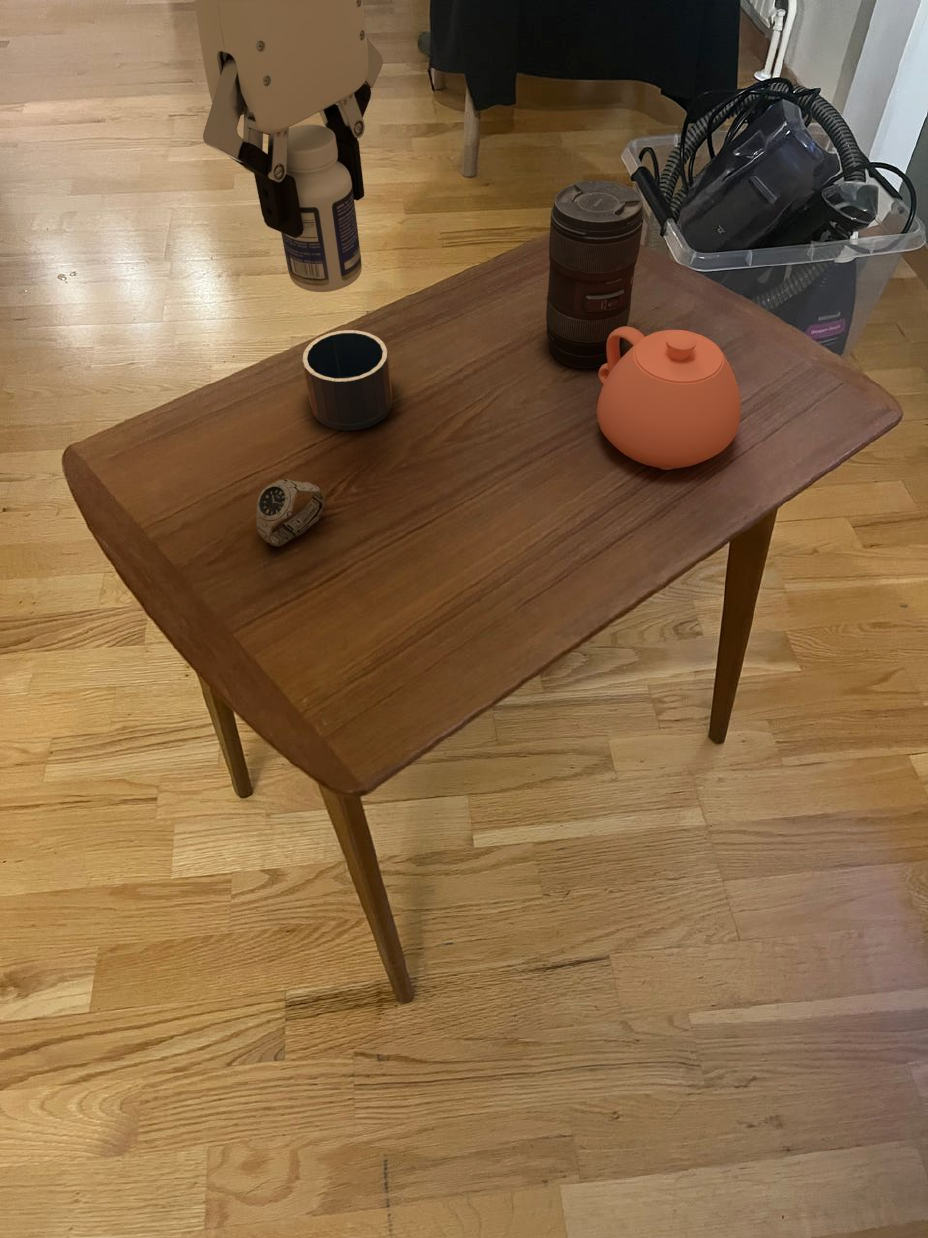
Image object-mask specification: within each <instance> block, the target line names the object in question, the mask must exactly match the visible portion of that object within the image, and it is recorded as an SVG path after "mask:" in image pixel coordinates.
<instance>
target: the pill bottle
mask: <svg viewBox="0 0 928 1238" xmlns="http://www.w3.org/2000/svg"><path fill="white" fill-rule="evenodd" d="M337 158H338V150H337V144H336V137H335V134H334V132H333V131H332V130H330V129H329V128H327V127H326V126H325V125H319V124H301V125H294V126H291V127H289V133H288V151H287V168H286V174H287V175H290V176H292V177H294V179H295V181H296V187H297V193H298V199H299V205H300V211H301V217H302V223H303V234H302V235H301V236H299V237H297V238H293V237H291V236H289V235H286V234H284V233H282V232H280V235H281V239H282V246H283V250H284V256H285V261H286V266H287V270H288V271H287V272H288V275H289V278H290V280H291V281H292V283H294V285H295V286H297V287H299V288H300V289H303V290H306V291H309V292H314V293H329V292H334V291H335V292H336V291H339V290H341V289H344V288H346V287H349V286H350V285H352V284H353V283H354V282H356V281H357V280H358V279H359V277H360V275H361V273H362V269H363V268H362V267H363V266H362V253H361V246H360V245H361V244H360V237H359V228H358V221H357V212H356V205H355V204H356V203H355V200H354V196H353V188H352V182H351V176H350V174H349V171H348V170H347V168H346V167H345V166H344V165H343V164H342V163H340V162H338V161H337Z"/></svg>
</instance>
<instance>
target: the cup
mask: <svg viewBox="0 0 928 1238" xmlns="http://www.w3.org/2000/svg"><path fill="white" fill-rule="evenodd" d="M301 362H302V368H303V373H304V378H305V385H306V388H307V393H308V400H309V404H310V409H311V413H312V415H313V417H314V418H315V419H316V420H317V421H318V422H319V423H320V424H321V425H322V426H325V427H327V428H329V429H332V430H337V431H343V432H351V431H359V430H365V429H368V428H371V427H373V426H375V425H377V424H379V423H380V422H382V421H383V420H384V419H385V418H386V417H387V416H388V415H389V414H390V412H391V410H392V407H393V405H394V404H393V403H394V401H393V387H392V378H391V367H390V357H389V349H388V347H387V346H386V343H385V342H384V341H383V340H382V339H380V338H379V337H378V336H377V335H375V334H372V333H370V332H367V331H363V330H357V329H356V330H355V329H343V330H337V331H332V332H328V333H325V334H324V335H321V336H319V337H317V338H315V339H314V340H313V341H311V342H310V343H309V344H307V346H306V348H304V350H303V353H302V357H301Z"/></svg>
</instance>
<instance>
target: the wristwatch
mask: <svg viewBox="0 0 928 1238" xmlns="http://www.w3.org/2000/svg"><path fill="white" fill-rule="evenodd" d="M299 494H311V497H310V500H309V502H308V504H307V505H306V506H305V507H303V508H302V509H301V510H300V511H299V512H298V513H297V514H296V515H294V516H293V515H292V514H293V513H292V512H293V511H294V505H295V502H296V498H297V497H298V496H299ZM325 505H326V496H325V494H324V493H323V492H322V490H321V489H320V487H319V486H317V485H316V484H313V483H311V482H307V481H305V482H301V481H293V480H292V479H289V478H284V479H280V480H276V481H275V482H273V483H271V484H269V485H267V486H266V487H265V488H263V489H262V491H261V492H260V494H259V495H258V498H257V502H256V508H255V514H256V520H255V521H256V531H257V533H258V534H259V536H260V537H261V539H262V540H263V541H264V542H266V543H267V544H270V545H271V546H274V547H278V548H279V547H283V546H284V545H286V544H287V543H288V542H290V541H292V540H294V539H295V538H297V537H299V536H300V535H303V534H304V533H306V532H307V531H308V529H310V528H311V527H312V526H313V525H314V524H315V523H317V522H318V521H319V520H320V516H321V514H322V512H323V510H324V507H325ZM292 516H293V517H292ZM290 517H292V518H291V519H288V518H290ZM286 519H288V521H285V520H286ZM281 522H282V525H281V527H280V528H279V529H278V530H277V531H274V532H273V530H274V529H275V527H277V526H278V525H279V524H280V523H281Z"/></svg>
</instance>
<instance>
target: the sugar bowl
mask: <svg viewBox="0 0 928 1238" xmlns="http://www.w3.org/2000/svg"><path fill="white" fill-rule="evenodd" d="M620 337H621V338H624V339H623V340H626V341H627V342H629V343H630V344H631V345H632V347H630V349H629V350H628V351H627V352H626V353H625V354H623V355H622V357H621V350H620V345H619V341H620ZM606 350H607V361H608V363H606V364H603V365H602V366H600V368H599V370H598V373H597V375H598V380H599V381H600V383H601V384H602V388H601V389H600V393H599V396H598V400H597V405H596V419H597V422H598V425H599V428H600V430H601V433H602V434H603V436H605V438H606V439H607V440H608V441H609V442H610V444H612V445H613V447H615V448H616V449H617V450H618V451H619V452H621V453H622V454H624V456H626V457H628V458H629V459H631V460H633V461H635V462H638V463H640V464H642V465H646V466H649V467H653V468H659V469H661V470H663V471H664V470H665V471H669V470H673V469H680V468H681V469H682V468H686V467H691V466H695V465H697V464H701V463H703V462H706V461H707V460H709V459H711V458H714V457H715V456H716V455H718V454H720V453H721V452H723V451H724V450H725V449H726V448H727V447H728V446H729V445H730V444H731V443H732V442H733V440H734V439H735V437H736V436H737V433H738V431H739V426H740V423H741V414H742V411H741V410H742V405H741V394H740V389H739V385H738V381H737V379H736V376H735V374H734V372H733V370H732V367H731V365H730V363H729V361H728V359H727V357H726V356H725V353H723V351H722V349H721V348H720V347H719V346H718V345H717V343H715V342H714V341H712V340H711V339H709V338H708V337H706V336H704V335H702V334H699V333H696V332H694V331H691V330H685V329H684V330H683V329H665V330H660V331H656V332H652V333H650V334H648V335H646V336H645V335H644V334H643V333H642V332H641V331H640V330H638V329H637V328H635V327H632V326H628V325H627V326H624V327H620V328H617V329H615V330H614V331H613V332H612V333H611V334H610V335H609V337H608V340H607V347H606Z"/></svg>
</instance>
